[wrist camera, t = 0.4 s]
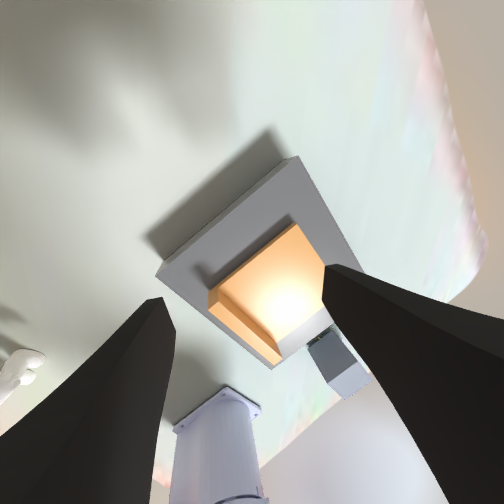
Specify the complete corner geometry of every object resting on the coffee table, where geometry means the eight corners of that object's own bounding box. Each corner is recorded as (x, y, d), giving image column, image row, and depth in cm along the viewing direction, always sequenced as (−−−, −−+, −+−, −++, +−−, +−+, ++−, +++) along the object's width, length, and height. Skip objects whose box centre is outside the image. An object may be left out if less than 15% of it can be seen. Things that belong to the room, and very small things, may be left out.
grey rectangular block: (320, 360, 27) (344, 400, 22) (304, 344, 25) (327, 383, 20) (343, 343, 26) (373, 379, 22) (328, 325, 25) (358, 361, 20)
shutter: (266, 344, 19) (274, 365, 17) (208, 292, 16) (207, 310, 14) (338, 288, 18) (356, 303, 16) (293, 222, 15) (308, 229, 13)
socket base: (264, 348, 24) (271, 370, 21) (163, 261, 17) (154, 275, 15) (355, 278, 23) (375, 291, 20) (283, 159, 16) (298, 155, 14)
